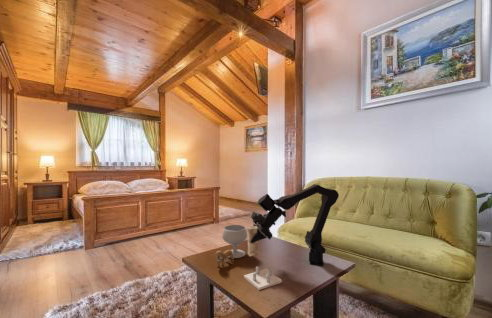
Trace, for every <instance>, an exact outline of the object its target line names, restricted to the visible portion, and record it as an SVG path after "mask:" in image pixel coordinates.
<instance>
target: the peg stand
mask: <svg viewBox="0 0 492 318" xmlns="http://www.w3.org/2000/svg"><path fill="white" fill-rule="evenodd" d="M272 269H273V268H272V267H268V269H267V268H265V269H261V270H260V266H257V265H256V266H255V271H254V272H251V273H247V274H244V275H243V278H244V279H245V280H246V281H248V282H249V283H250V284H251V285H252V286H253V287H255V288H256V289H257V290H258V291H260V290H263V289H266V288H270V287H273V286H275V285H278V284H281V283H282V282H283V280H282V279H281V278H280V277H278V276H276V274H274V273H273V270H272Z"/></svg>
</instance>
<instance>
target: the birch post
mask: <svg viewBox="0 0 492 318" xmlns="http://www.w3.org/2000/svg"><path fill="white" fill-rule="evenodd" d="M256 233H257V226H247V255H248V256H249V257H254V256H255V257H258V256H259V252H260V251H259V241H257V242H254V243H251V240H252V239H253V237H254V236H255V234H256Z"/></svg>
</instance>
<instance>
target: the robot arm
mask: <svg viewBox="0 0 492 318" xmlns="http://www.w3.org/2000/svg"><path fill="white" fill-rule="evenodd" d="M316 194H319V195H321V197H320V198H321V204H320V207H319V210H318V213H317V216H316V219H315V221H314V224H313V227H312V228H311V230H310V231H309V230H307V231H306V234H305V236H304V242H305V244H306V246H308V248H309V250H310V251H309V252H308V262H309V264H310V265H316V266H322V267H323V266H324V254H325V252H326V248H325V247H324V246H323V245H322V242H323V237H322V233H323V231H324V227H325V224H326V222H327V219H328V216H329V213H330V210H331V209H332V208H331V207H333V206H334V205H335V204H336V202H337V201H338V199H339V198H340V197H339V192H338V191H337V190H336V189H332V188H327V187H324V186H322V185H319V184H312V185H311V186H308V187H306V188H304V189H302V190H300V191H298V192H295V193H293V194H287V195H284V196H280V197H279V198H277V199H273V198H272V197H271V196H270V195H269V194H268V193H265V194H264V195H263V196H262V197H260V198H259V199H258V200H257V204H258V205H259V207H261V208H262V209H263V211H265V212H267V211H268V212H267V213H263V214H262V213H259V212H258V213H257V212H256V211H252V214H251V216H250V219H251V220H252V225H253V226H257V233H256V234H255V236H254V237H253V239H252V240H251V243H254V242H257V241H258V242H259V241H261V240H262V241H263V240H264V239H269V240H271V239H273V233H272V232H271V227H273V226H275V225H276V222H277V221H278V220H279V219H280V218H281V216H283V217H284V218H287V212H286V211H288V210H290V209H291V208H293V207H294V206H295V205H297V203H300V202H302V201H303V200H306V199H307V198H309V197H312V196H314V195H316Z"/></svg>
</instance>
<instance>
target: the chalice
mask: <svg viewBox="0 0 492 318" xmlns="http://www.w3.org/2000/svg"><path fill="white" fill-rule="evenodd" d="M221 235H222V239H223V242H225V243H227V244H229V245H231V246H232V249H230V250H231V251H232V254H233V257H234V259H239V258H243V257H245V256H246V252H245V251H244V250H242V249H237V248H238V246H239V245H240V244H242V243H244V242H245V241H246V240H248V230H247V229H246V227H245V226H244V225H241V224H230V225H226V226H224V228H223V230H222V234H221ZM229 258H230V257H229V256H228V259H229ZM230 259H231V258H230Z"/></svg>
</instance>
